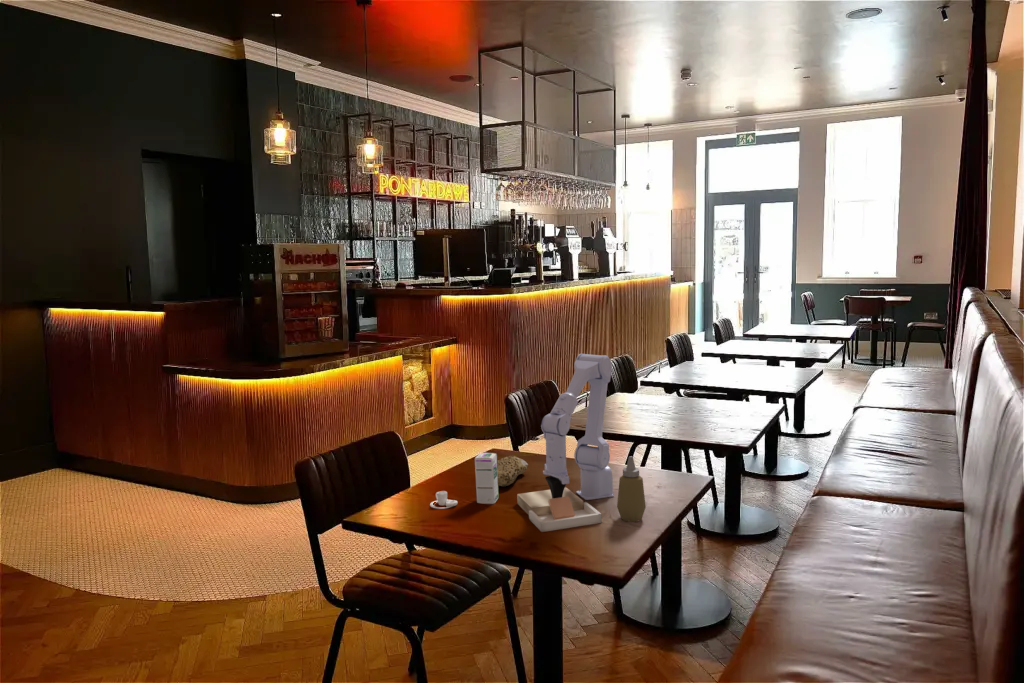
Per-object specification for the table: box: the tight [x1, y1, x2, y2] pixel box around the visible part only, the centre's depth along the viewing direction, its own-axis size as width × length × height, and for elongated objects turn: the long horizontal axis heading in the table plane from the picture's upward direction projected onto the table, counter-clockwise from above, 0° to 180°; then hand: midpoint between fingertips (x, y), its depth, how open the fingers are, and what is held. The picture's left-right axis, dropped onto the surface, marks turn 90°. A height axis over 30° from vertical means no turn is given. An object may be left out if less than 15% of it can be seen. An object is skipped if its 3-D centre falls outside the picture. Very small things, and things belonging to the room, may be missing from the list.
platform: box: [516, 486, 584, 516], centre depth 214 cm, size 16×13×3 cm
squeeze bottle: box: [616, 455, 647, 523], centre depth 203 cm, size 8×8×18 cm
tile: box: [548, 496, 575, 520], centre depth 205 cm, size 6×6×2 cm
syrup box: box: [474, 452, 500, 505], centre depth 221 cm, size 6×6×14 cm
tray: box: [528, 501, 603, 533], centre depth 203 cm, size 18×10×2 cm, turn 108°
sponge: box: [497, 455, 529, 487], centre depth 241 cm, size 13×8×20 cm
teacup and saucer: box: [429, 490, 459, 510], centre depth 219 cm, size 9×8×4 cm
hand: (557, 501), depth 208 cm, fingers closed
